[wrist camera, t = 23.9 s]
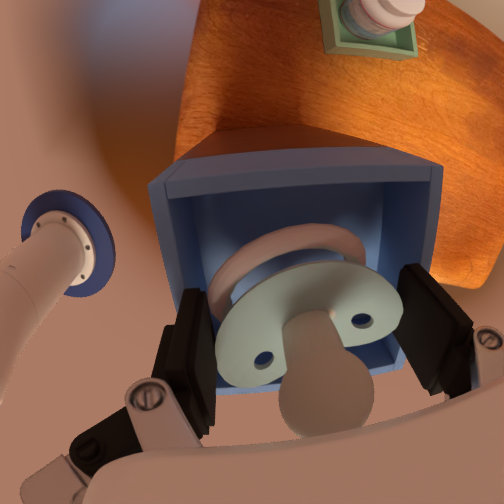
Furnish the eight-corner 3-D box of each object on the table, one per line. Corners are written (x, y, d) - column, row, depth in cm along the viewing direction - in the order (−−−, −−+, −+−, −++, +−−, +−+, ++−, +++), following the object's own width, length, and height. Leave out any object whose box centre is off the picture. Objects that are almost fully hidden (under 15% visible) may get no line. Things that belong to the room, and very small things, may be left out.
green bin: (324, 53, 29) (336, 46, 25) (314, -17, 24) (324, -31, 20) (400, 60, 29) (418, 57, 25) (389, -7, 24) (406, -17, 20)
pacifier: (177, 265, 12) (243, 366, 14) (133, 390, 6) (246, 483, 8) (354, 189, 11) (387, 309, 13) (457, 264, 5) (450, 411, 7)
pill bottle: (370, -5, 24) (413, -35, 14) (391, 36, 27) (441, 18, 17) (328, 3, 25) (362, -32, 15) (350, 45, 28) (393, 25, 18)
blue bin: (224, 213, 37) (202, 396, 13) (214, 131, 33) (146, 184, 9) (306, 206, 37) (402, 369, 13) (302, 124, 33) (444, 166, 9)
